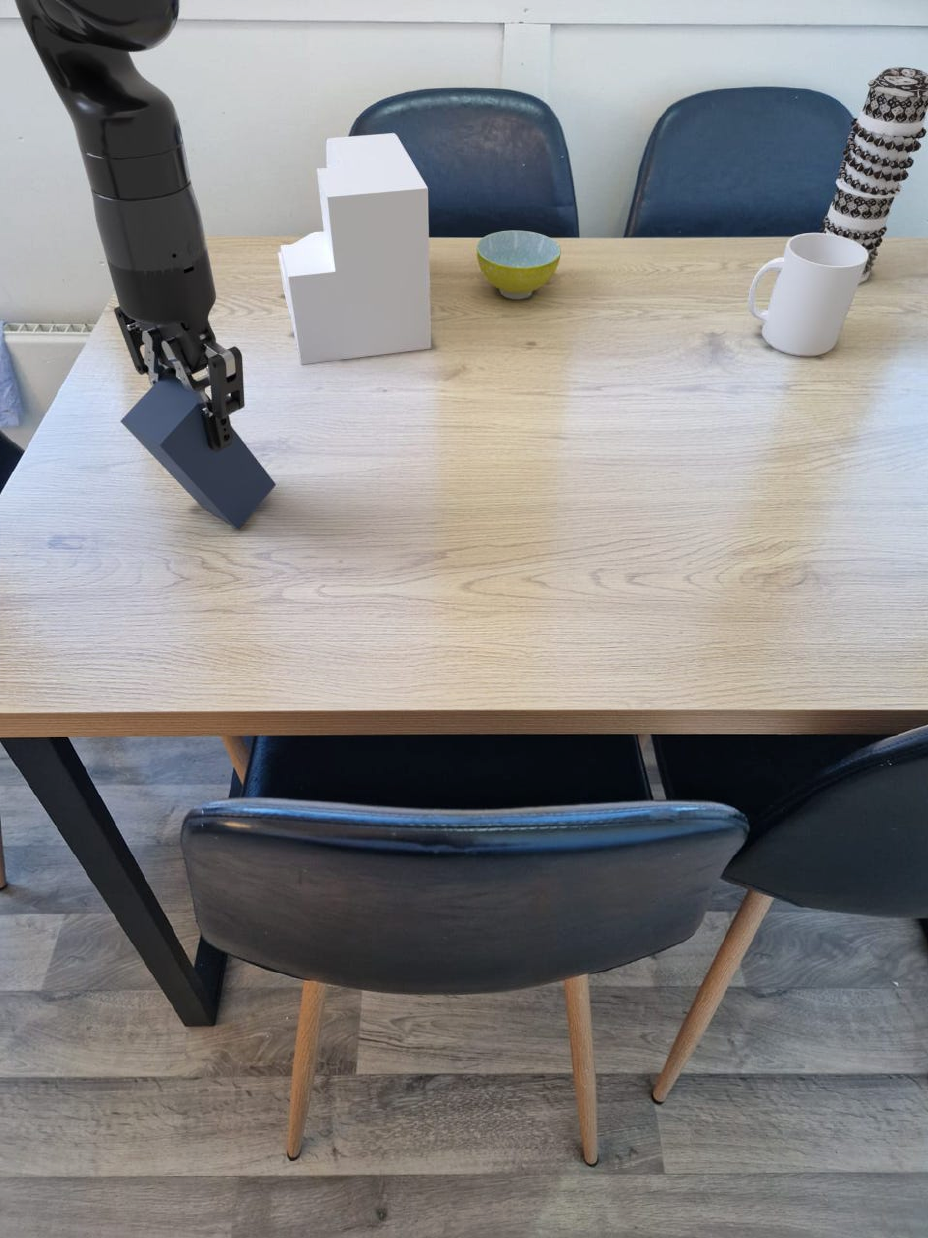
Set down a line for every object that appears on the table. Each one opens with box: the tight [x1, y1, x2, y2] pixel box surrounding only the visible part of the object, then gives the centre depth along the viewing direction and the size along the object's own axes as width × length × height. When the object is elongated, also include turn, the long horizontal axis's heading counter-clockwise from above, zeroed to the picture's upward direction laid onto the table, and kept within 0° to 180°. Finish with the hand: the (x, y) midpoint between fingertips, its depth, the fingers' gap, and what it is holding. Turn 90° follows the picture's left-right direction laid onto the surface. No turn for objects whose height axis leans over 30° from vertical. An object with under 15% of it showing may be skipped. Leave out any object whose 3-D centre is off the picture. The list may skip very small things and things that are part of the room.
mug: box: [747, 232, 868, 358], centre depth 104 cm, size 10×12×12 cm
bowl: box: [476, 230, 562, 300], centre depth 114 cm, size 11×12×6 cm
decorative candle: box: [819, 66, 928, 284], centre depth 112 cm, size 9×9×25 cm
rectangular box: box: [120, 372, 277, 531], centre depth 78 cm, size 14×6×6 cm
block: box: [277, 132, 432, 365], centre depth 105 cm, size 25×16×19 cm, turn 15°
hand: (199, 433), depth 76 cm, fingers closed on rectangular box, 5 cm apart
